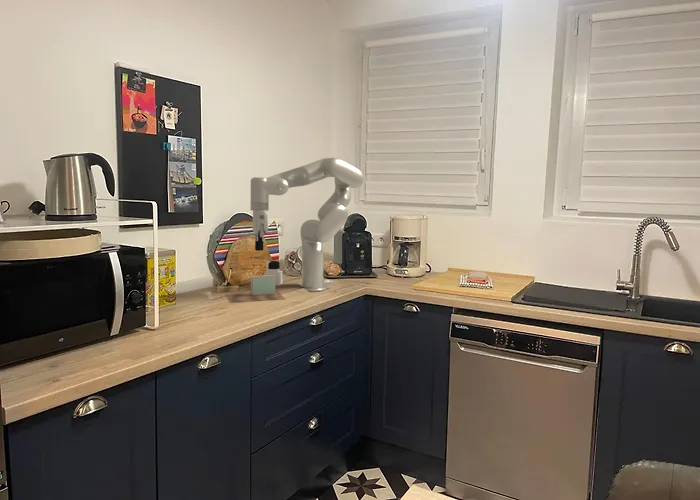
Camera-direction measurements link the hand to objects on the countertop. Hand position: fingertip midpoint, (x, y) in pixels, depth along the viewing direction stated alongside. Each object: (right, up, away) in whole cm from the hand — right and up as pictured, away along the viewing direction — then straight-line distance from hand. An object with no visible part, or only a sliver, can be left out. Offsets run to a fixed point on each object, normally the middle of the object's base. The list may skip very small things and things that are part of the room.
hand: (259, 250), depth 221 cm
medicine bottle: (+3, -17, +20) cm, 27 cm away
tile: (+2, -19, -3) cm, 19 cm away
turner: (-10, -19, +4) cm, 22 cm away
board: (0, -21, -7) cm, 22 cm away
